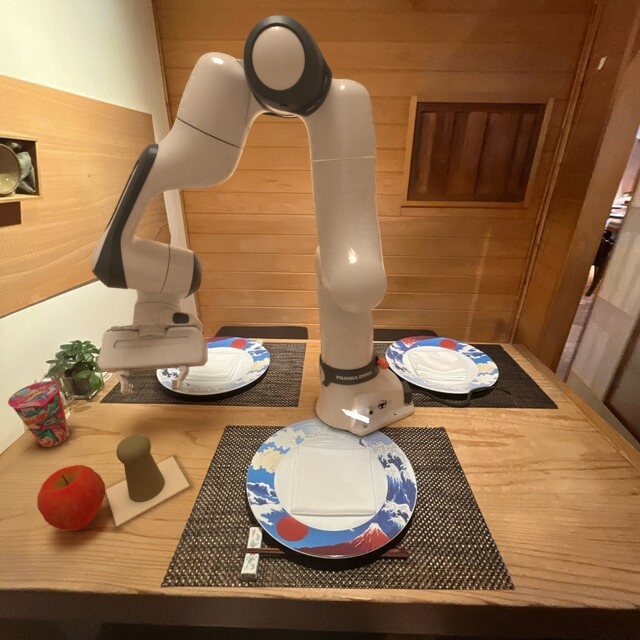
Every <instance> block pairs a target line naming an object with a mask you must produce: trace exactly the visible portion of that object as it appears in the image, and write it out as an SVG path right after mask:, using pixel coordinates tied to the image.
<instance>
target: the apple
mask: <svg viewBox="0 0 640 640" xmlns="http://www.w3.org/2000/svg"><path fill="white" fill-rule="evenodd" d="M39 489H40V490H39V492H38V493H37V497H36V499H37V500H36V501H37V502H36V503H37V505H36V506H37V510H38V511H39V513H40V514H41V516H42V518H43V519H44V521H45V522H46V523H47V524H48V525H50V526H52V527H54V528H56V529H58V530H64V531H81V530H83V529H84V530H85V528H87V527H89V526H90V525H91V524H92V523H93V522H94V521H95V518H96V516H97V514H98V513H99V511H100V509H101V507H102V504H103V502H104V499H105V496H106V483H105V481H104V479H103V478H102V477H101V475H100V474H99V473H98V472H96V471H95V470H94V469H93V468H92V467H89V466H87V465H84V464H74V465H70V466H65V467H63V468H59V469H58V470H56V471H55V472H53V473H52V474H51V475H49V476H48V477H47V478H46V480H45V481H44V482H43V483H42V485H41V487H40V488H39Z"/></svg>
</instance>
